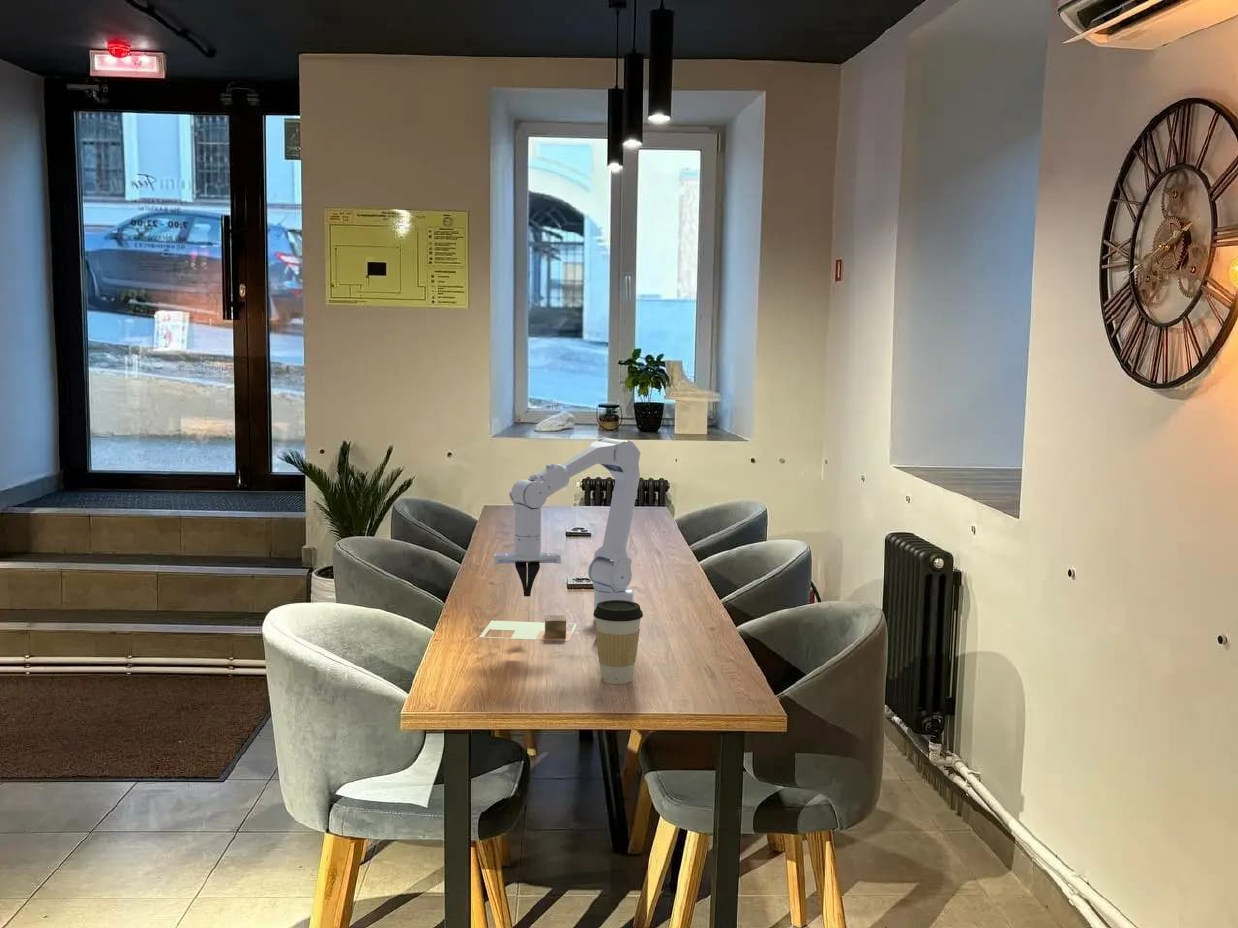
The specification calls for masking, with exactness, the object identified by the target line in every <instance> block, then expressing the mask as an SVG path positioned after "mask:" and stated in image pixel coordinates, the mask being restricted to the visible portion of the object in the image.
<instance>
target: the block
mask: <svg viewBox="0 0 1238 928" xmlns="http://www.w3.org/2000/svg"><path fill="white" fill-rule="evenodd" d="M544 623H545V639H558V638H566V631H567V618H566V615H565V614H564V615H561V614H560V615H559V614H557V615H555V614H554V615H552V614H551V615H544Z"/></svg>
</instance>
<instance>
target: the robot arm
mask: <svg viewBox="0 0 1238 928" xmlns="http://www.w3.org/2000/svg"><path fill="white" fill-rule="evenodd" d="M640 457H641V452H640V450H639V448H638V447H637V445H636V444H635V443H634V442H633V441H631V440H627V439H625V440H622V439H617V438H610V437H600V438H598V440H595V441H592V442H591V443H590V445H589V446H588V447H586V448H585V449H584V450H582V451H581V452H579V453H578V454H576V455H575V456H573V457H571V458H570V459H569V460H567V461H566V462H564V463H563V464H559V463H556V462H555V463H547V464H546V465H545V468H544V469H542V470H541V471H539V472H537V473H532V474H530V475H529V478H528V479H519V480H518V481H516V482H515V483H514V484H513V486H512V488H511V491H510V492H509V495H508V496H509V499H510V501H511V502H512V504H513V511H514V548H513V549H514V552H506V553H505V552H504V553H494V554H493V560H494V561H493V564H494V565H500V564H514V566H515V570H516V572H517V574H518V576H519V579H520V582H521V585H522V590H523V597H531V592H532V589H533V585H534V582H535V579H536V578H537V575H538V573H539V570H540V568H541V566H540V564H559V565H560V564H561V563H562V562H561V558H562V557H561V555H562V554H561V553H559V552H558V553H555V552H553V553H552V552H541V545H542V544H541V543H542V541H541V539H542V538H541V536H542V535H541V532H542V528H541V527H542V526H541V525H542V522H541V521H542V507H543V506H544V505H545V504H546V501H547V499H548V498H549V497H551V496H552V495H554V494H555V493H557V492H559V491H560V490H562V489H564V488H565V487H567V486H568V485H569V483H570V478H572V477H574V476H576V475H578V474H580V473H582V472H584V471H586V470H588V469H590V468H591V467H594V466H596V465H601V466H602V467H604V468H605V469H606V470H607V471H608V472H609V473H610V475H611V476H612V477H613V479H614V486H613V491H612V497H611V500H610V501H611V502H610V507H609V511H608V516H607V517H608V518H607V522H606V527H605V532H604V537H603V542H602V545H601V546H600V547H599V548H598V549H597V550H595V552H594V556H593V559H592V561H590V564H589V566H588V569H587V574H588V578H589V580H590V581H591V582H592V587H593V593H594V595H593V611H594V610H595V609H596V607H597V604H598V603H600V602H603V601H609V600H625V601H631V602H635V601H634V589H628V587H629V586H630V585H631V581H632V578H633V573H632V562H633V561H632V558H631V557H630V554H628V551H627V546H628V539H629V536H630V535H629V534H630V530H631V526H632V525H631V524H632V519H633V514H634V509H635V504H636V498H637V495H638V494H637V493H638V490H639V489H638V488H639V485H640V484H639V483H640V479H641V472H640V466H639V462H640ZM593 621H594V622H596V618H595V617H594V616H593Z"/></svg>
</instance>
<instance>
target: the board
mask: <svg viewBox="0 0 1238 928" xmlns="http://www.w3.org/2000/svg"><path fill="white" fill-rule="evenodd" d="M570 625H571V626H572V625H573V627H572V629H571V631H570V630H569V631H567V630H566V638H558V639H545V622H540V621H539V622H537V621H535V622H534V621H516V620H515V621H511V620H491V621H490V622H489V623H488V624H487V626H486V627H485V628H484V630H483V631H482V632H481V634H479V636H478V638H480V639H481V638H484V639H503V637H500V636H499V637H497V636H495V637H494V636H486V634H487V633H488V632H489V631H490V630H492V631H514V632H513V633H512V635H511V637H504V639H505V640H506V639H510V640H511V639H512V640H531V641H532V640H536V641H553V642H554V641H556V642H557V641H559V642H560V641H561V642H570V641H571V638H572V636H573V634H574V632H575V629H576V627H577V625H578V624H577V623H569V626H570Z"/></svg>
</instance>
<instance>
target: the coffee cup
mask: <svg viewBox="0 0 1238 928" xmlns="http://www.w3.org/2000/svg"><path fill="white" fill-rule="evenodd" d="M594 617H595V618H596V621H595V625H596V626H595V634H596V645H597V648H596V649H597V655H598V662H599V668H600V669H599V670H600V679H601V681H602V682H604V683H606V684H609V685H625V684H628V683H631V682H632V681H633V676H634V670H635V664H636V660H637V652H638V644H639V639H640V633H641V630H640V625H641V619H642V618H643V617H644V613H643V611H642V609H641V605H640V604H639V603H637V602H635V601H633V602H631V601H625V600H609V601H603V602H600V603H598V604H597V607H596V609H595V610H594V609H593V618H594Z"/></svg>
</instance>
